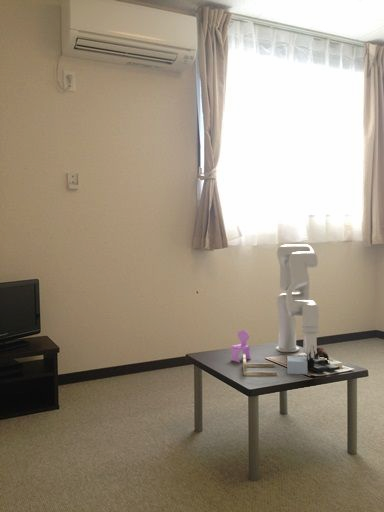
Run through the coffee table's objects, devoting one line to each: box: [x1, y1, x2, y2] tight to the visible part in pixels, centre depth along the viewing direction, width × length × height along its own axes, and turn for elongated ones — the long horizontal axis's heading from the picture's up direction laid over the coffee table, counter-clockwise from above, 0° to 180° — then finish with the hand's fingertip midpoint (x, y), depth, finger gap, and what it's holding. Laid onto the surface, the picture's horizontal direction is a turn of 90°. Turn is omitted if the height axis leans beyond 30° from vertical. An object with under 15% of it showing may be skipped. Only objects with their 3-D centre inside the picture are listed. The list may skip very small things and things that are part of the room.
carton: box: [286, 355, 308, 375], centre depth 224 cm, size 9×9×6 cm
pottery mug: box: [314, 346, 330, 361], centre depth 240 cm, size 12×10×8 cm
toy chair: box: [230, 329, 252, 363], centre depth 245 cm, size 8×9×15 cm
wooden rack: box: [242, 353, 278, 377], centre depth 225 cm, size 16×15×6 cm
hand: (310, 367), depth 223 cm, fingers closed
